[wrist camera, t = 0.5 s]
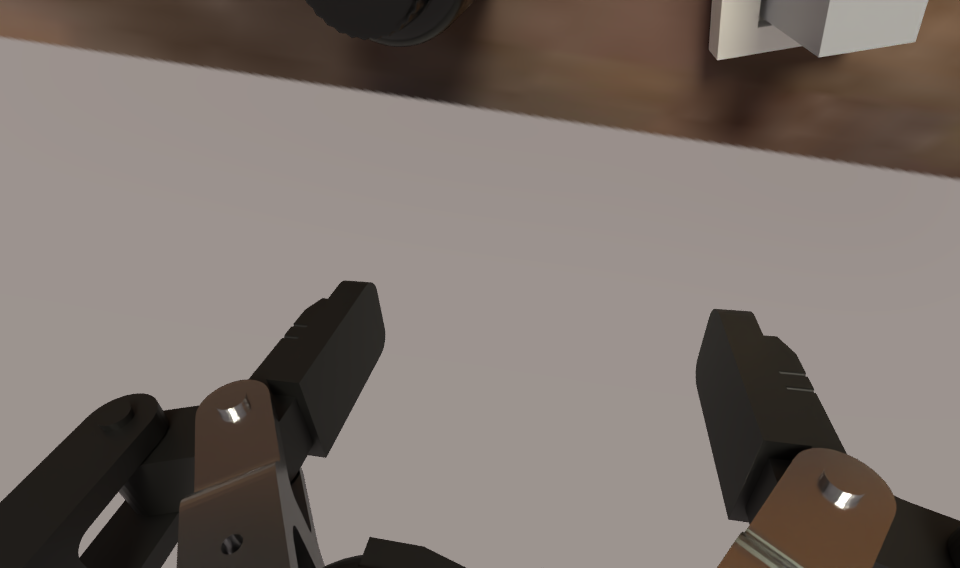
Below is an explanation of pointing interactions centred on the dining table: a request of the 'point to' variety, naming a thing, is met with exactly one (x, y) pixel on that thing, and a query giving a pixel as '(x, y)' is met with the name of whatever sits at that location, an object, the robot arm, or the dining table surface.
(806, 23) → the block
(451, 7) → the supplement bottle
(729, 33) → the block
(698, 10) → the dining table surface
